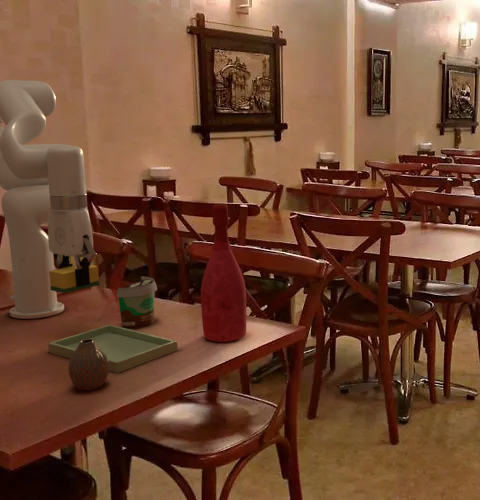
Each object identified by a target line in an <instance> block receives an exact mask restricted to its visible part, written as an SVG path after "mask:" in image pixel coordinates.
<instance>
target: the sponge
mask: <svg viewBox="0 0 480 500" xmlns="http://www.w3.org/2000/svg"><path fill="white" fill-rule="evenodd" d="M75 269H77V266H76V264H75V265H73V266H71V267H66V268H61V269H59V268H56V269H54V270H52V271H49V276H50V287H51V290H52V291H56V293H61V294H68V293H72V292H77V291H80V290H85V289H89V288H92V287H96V286H97V287H98V286H100V276H99V266H98V265H93V264H91V266H90V267H89V275H90V284H89V285H85V286H81V287H77V286H76V275H75Z"/></svg>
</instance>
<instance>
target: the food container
mask: <svg viewBox="0 0 480 500" xmlns="http://www.w3.org/2000/svg"><path fill="white" fill-rule="evenodd" d="M140 277H141V278H140V280H139V281H137V282H134V283H130V284H129V285H128V286H126V287H117V291H116V297H117V298H118V304H119V313H120V321H121V327H122V328H126V329H130V330H134V329H140V328H145V327H148V326H151V325H153V323H154V322H155V292H157V290H158V286H157V283H156V281H155V279H153V278H152V277H149V276H140Z"/></svg>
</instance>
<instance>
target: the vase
mask: <svg viewBox="0 0 480 500" xmlns="http://www.w3.org/2000/svg"><path fill="white" fill-rule="evenodd" d="M109 372H110V370H109V363H108V359H107V357H106V355H105V353H104V352H103V351H102V350H101V349H100V348H99V347H98V346H97V345H96V343H95V342H94V340H93V339H84V340H81V341H80V343H79V345H78V347H77V349H76V350H75V351H74V353H73V354H72V356H71V358H70V359H69V362H68V375H69V379H70V381H71V383H72V384H73V386H74V387H76V388H77V389H79V390H80V391H92V390H97V389H100V388H101V387H102V386H103V385H104V384H105V383H106V381H107V379H108V376H109Z"/></svg>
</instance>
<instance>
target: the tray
mask: <svg viewBox="0 0 480 500" xmlns="http://www.w3.org/2000/svg"><path fill="white" fill-rule="evenodd" d="M84 339H93V340H94V342H95V343H96V345H97V346H98V347H99V348H100V349H101V350H102V351H103V352H104V353H105V355H106V357H107V359H108V363H109V372H113V373H116V374H119V373H122V372H124V371H127V370H129V369H133V368H134V367H135V368H136V367H137V366H140V365H142V364H145V363H148V362H151V361H153V360H156V359H159V358H161V357H165V356H166V355H170V354H171V353H174V352H177V351H178V350H179V349H178V340H175V339H170V338H166V337H162V336H158V335H154V334H150V333H148V332H147V333H146V332H143V331H138V330H134V329H126V328H122V326H118V325H114V324H107V325H102V326H100V327H96V328H94V329H90V330H87V331H83V332H80V333H77V334H74V335H71V336H67V337H64V338H61V339H57V340H54V341H50V342H48V353H50V354H52V355H57V356H59V357H63V358H66V359H69V360H70V358H71V356H72V354H73V353H74V351H75V350H76V349H77V347H78V345H79V343H80V341H81V340H84Z"/></svg>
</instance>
